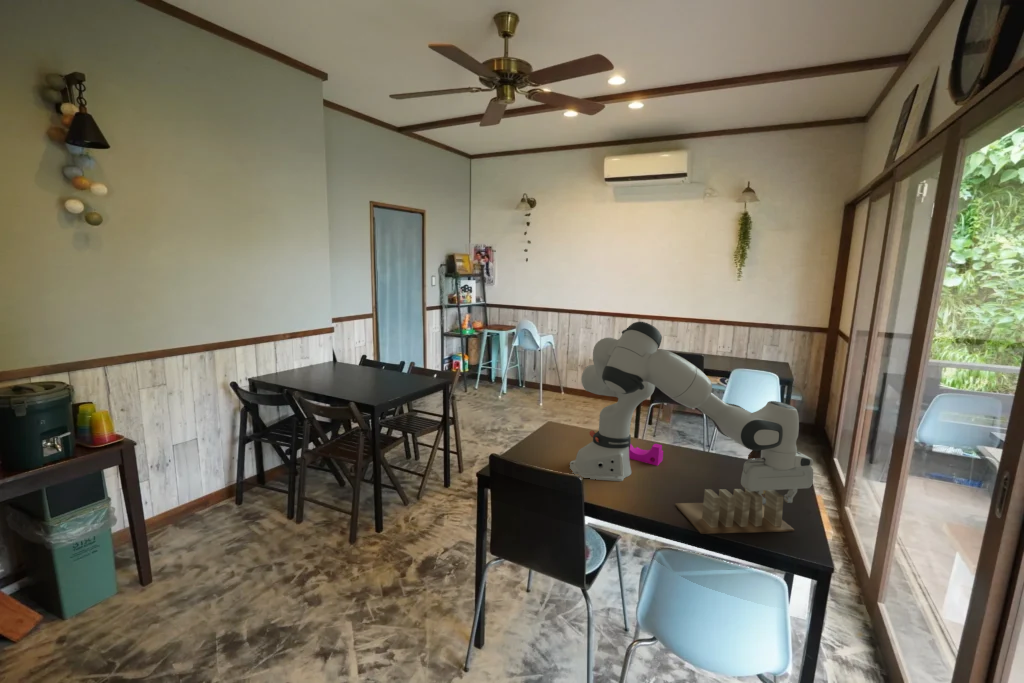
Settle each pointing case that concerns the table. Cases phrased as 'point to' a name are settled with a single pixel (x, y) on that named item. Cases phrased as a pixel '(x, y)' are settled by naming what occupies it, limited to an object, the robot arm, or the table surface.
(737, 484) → the table surface
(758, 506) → the domino
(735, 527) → the board
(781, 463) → the robot arm
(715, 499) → the domino
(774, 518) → the domino
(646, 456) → the toy block
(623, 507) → the table surface
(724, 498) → the domino
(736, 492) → the domino
